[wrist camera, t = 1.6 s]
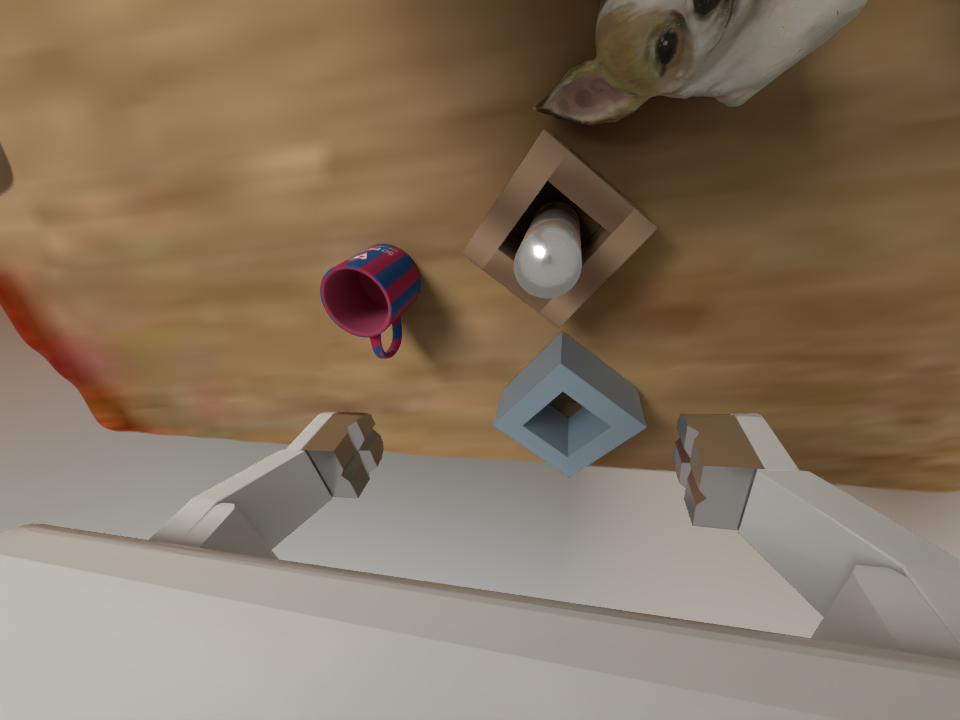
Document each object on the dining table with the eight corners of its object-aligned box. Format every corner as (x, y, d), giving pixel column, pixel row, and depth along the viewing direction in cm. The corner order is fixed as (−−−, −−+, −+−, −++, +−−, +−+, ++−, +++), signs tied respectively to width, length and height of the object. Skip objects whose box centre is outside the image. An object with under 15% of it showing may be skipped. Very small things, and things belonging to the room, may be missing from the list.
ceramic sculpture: (816, 143, 17) (516, 115, 20) (752, 143, 24) (538, 122, 27) (1011, -239, 12) (553, -203, 14) (854, -93, 19) (568, -89, 21)
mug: (414, 243, 34) (382, 264, 28) (429, 336, 39) (405, 370, 33) (351, 244, 35) (309, 264, 30) (374, 333, 40) (342, 365, 35)
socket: (562, 331, 35) (560, 363, 30) (637, 387, 37) (646, 427, 32) (502, 389, 41) (493, 425, 36) (569, 437, 42) (569, 477, 37)
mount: (548, 129, 27) (543, 129, 23) (645, 214, 28) (657, 228, 24) (475, 238, 32) (461, 253, 28) (560, 304, 34) (558, 328, 30)
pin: (552, 191, 29) (542, 217, 20) (589, 222, 29) (597, 261, 20) (522, 231, 31) (500, 271, 22) (557, 260, 32) (550, 310, 23)
